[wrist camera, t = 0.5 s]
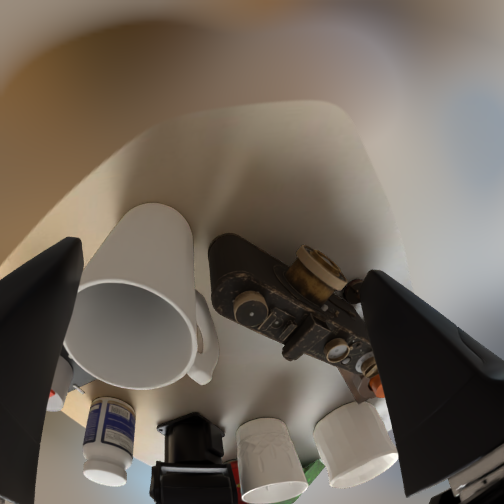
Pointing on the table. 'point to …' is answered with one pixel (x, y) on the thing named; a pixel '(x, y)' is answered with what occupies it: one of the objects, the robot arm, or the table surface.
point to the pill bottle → (109, 441)
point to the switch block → (358, 386)
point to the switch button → (377, 386)
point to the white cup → (268, 462)
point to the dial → (60, 385)
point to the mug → (143, 306)
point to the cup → (354, 445)
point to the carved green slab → (310, 475)
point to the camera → (291, 302)
